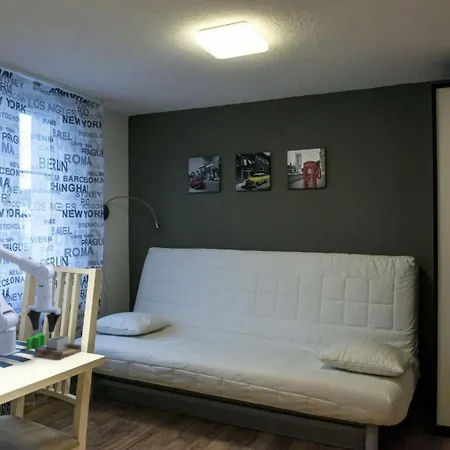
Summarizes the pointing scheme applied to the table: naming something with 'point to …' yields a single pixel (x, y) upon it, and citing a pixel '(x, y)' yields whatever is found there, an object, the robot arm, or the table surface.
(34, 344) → the pipe clamp
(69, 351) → the board
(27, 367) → the table surface
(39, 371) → the table surface
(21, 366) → the table surface
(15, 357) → the table surface
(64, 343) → the block
